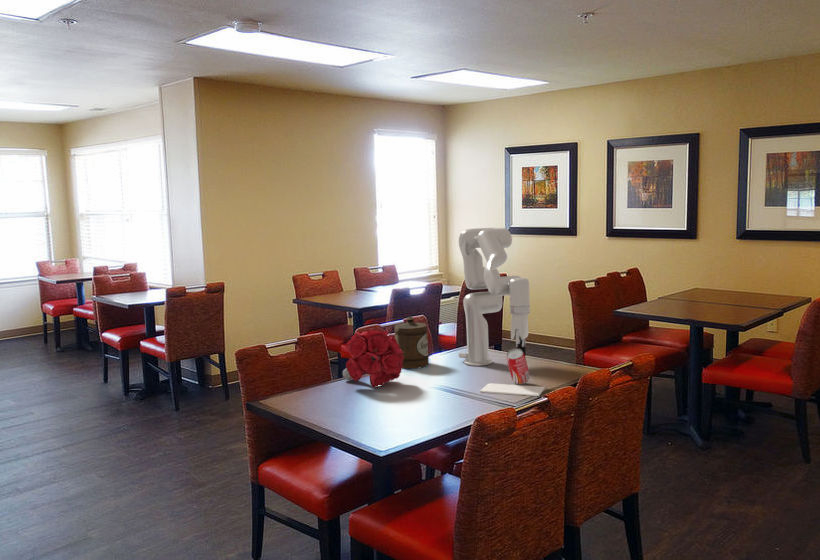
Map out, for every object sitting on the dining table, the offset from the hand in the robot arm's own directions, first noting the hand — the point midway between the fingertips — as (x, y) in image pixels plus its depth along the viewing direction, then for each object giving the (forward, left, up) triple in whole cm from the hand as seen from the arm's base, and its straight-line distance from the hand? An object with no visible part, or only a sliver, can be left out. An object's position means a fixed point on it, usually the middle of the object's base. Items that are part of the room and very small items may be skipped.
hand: (521, 356), depth 256 cm
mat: (-1, -10, -11) cm, 15 cm away
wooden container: (-55, +20, -11) cm, 59 cm away
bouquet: (-58, -15, -11) cm, 61 cm away
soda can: (0, 0, -10) cm, 10 cm away
